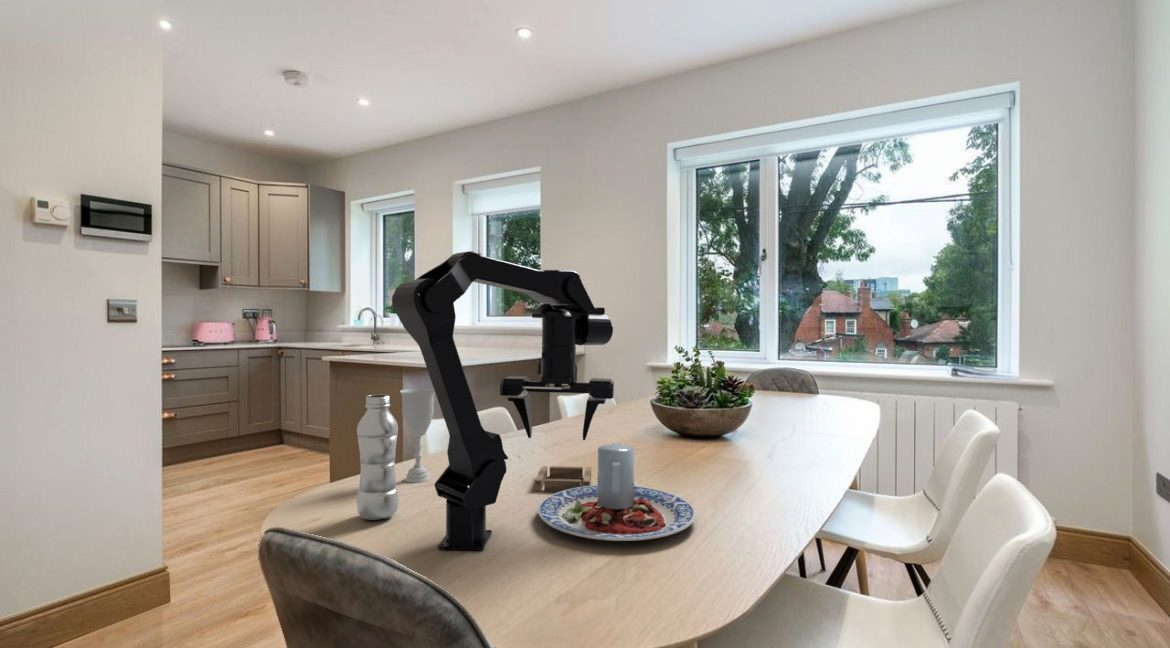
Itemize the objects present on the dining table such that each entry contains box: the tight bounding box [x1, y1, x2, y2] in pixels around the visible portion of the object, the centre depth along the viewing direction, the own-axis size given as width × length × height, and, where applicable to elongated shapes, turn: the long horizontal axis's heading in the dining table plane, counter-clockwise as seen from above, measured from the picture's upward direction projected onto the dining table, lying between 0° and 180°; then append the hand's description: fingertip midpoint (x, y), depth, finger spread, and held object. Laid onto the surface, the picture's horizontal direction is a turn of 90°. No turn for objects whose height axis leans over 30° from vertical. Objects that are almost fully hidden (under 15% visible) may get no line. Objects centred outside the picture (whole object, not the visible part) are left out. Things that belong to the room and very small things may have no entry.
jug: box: [597, 442, 635, 509], centre depth 91 cm, size 6×10×9 cm, turn 177°
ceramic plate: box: [537, 484, 697, 542], centre depth 92 cm, size 26×26×3 cm
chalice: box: [399, 388, 436, 484], centre depth 114 cm, size 7×7×18 cm
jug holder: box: [534, 465, 592, 492], centre depth 112 cm, size 10×10×2 cm
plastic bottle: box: [356, 394, 400, 521], centre depth 92 cm, size 6×7×20 cm
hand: (557, 438), depth 94 cm, fingers open, 9 cm apart
